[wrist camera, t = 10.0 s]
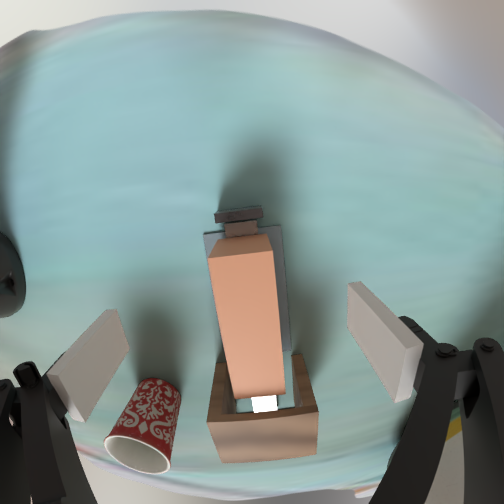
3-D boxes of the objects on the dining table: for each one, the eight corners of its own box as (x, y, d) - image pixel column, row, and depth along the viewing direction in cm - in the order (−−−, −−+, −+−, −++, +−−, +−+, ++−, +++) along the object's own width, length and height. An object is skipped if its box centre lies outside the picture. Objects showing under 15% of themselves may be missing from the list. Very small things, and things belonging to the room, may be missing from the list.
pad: (290, 349, 36) (291, 350, 36) (225, 356, 37) (225, 357, 36) (280, 225, 32) (280, 225, 32) (203, 234, 32) (203, 234, 32)
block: (278, 353, 35) (285, 393, 27) (237, 358, 35) (234, 399, 27) (266, 233, 31) (272, 250, 23) (217, 239, 31) (207, 258, 24)
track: (281, 407, 39) (283, 420, 36) (250, 410, 39) (250, 424, 36) (260, 205, 32) (262, 208, 29) (217, 211, 32) (214, 213, 29)
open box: (303, 398, 39) (316, 454, 28) (226, 406, 39) (222, 463, 28) (301, 353, 37) (318, 411, 26) (216, 363, 37) (206, 422, 26)
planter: (439, 368, 39) (517, 465, 13) (486, 391, 42) (540, 455, 16) (349, 457, 44) (379, 557, 18) (415, 463, 48) (447, 532, 22)
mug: (133, 365, 37) (100, 426, 24) (190, 382, 38) (173, 451, 25) (131, 414, 40) (108, 470, 27) (180, 429, 41) (166, 489, 28)
